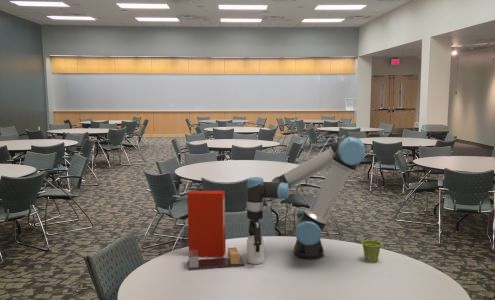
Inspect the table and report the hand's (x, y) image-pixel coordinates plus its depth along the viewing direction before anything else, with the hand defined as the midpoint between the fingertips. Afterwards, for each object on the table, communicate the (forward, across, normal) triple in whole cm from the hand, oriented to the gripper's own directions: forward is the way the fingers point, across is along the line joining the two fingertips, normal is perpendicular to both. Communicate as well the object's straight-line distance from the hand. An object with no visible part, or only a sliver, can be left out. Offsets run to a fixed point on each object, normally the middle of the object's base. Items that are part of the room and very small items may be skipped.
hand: (254, 253), depth 224 cm
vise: (+4, 0, -18) cm, 19 cm away
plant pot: (+3, +9, +56) cm, 56 cm away
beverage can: (+4, 0, 0) cm, 4 cm away
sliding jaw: (+3, 0, -10) cm, 10 cm away
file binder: (+5, -15, -21) cm, 26 cm away
